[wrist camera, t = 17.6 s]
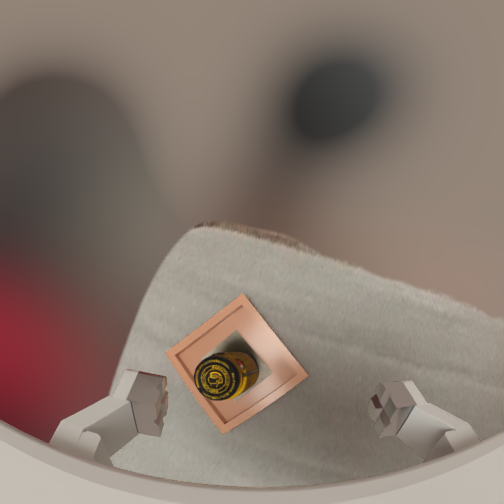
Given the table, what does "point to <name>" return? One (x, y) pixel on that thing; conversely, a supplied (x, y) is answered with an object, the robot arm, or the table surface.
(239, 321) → the tray
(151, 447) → the table surface
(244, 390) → the condiment
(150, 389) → the robot arm
